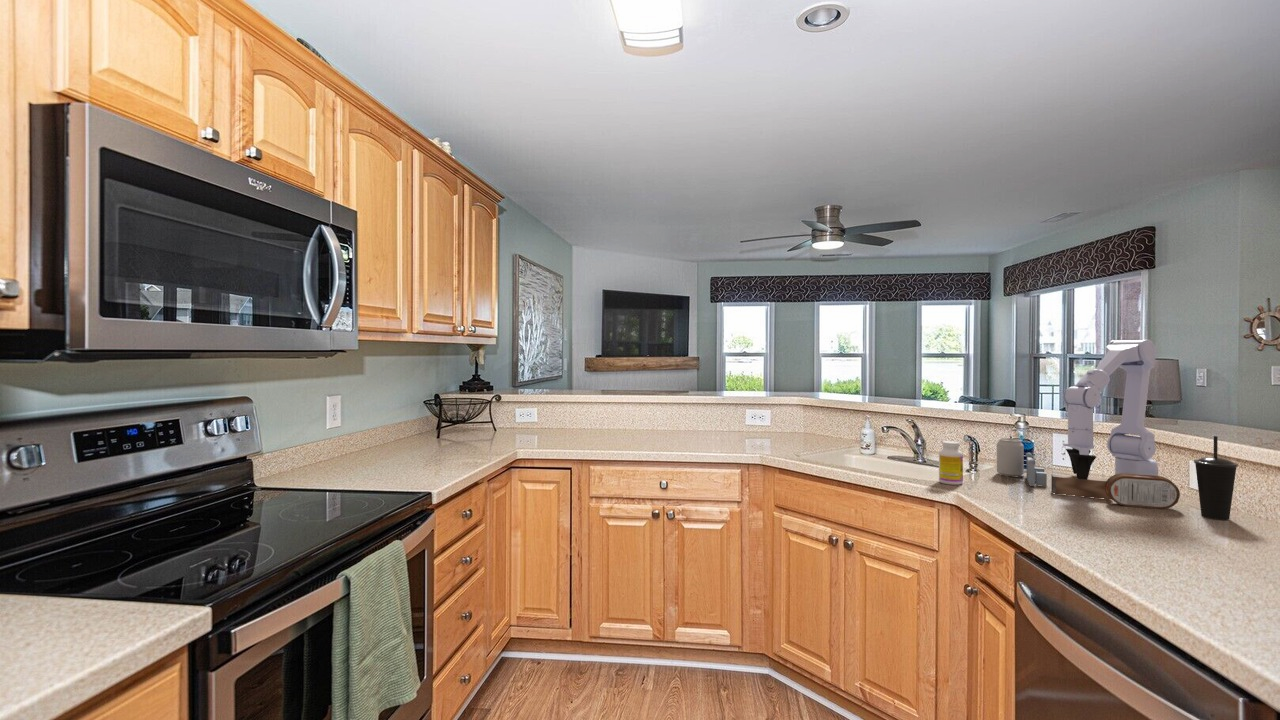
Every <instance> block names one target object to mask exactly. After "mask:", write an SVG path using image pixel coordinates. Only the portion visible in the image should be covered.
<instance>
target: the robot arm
mask: <svg viewBox="0 0 1280 720" xmlns="http://www.w3.org/2000/svg"><path fill="white" fill-rule="evenodd" d="M1156 356H1157V348H1156V346H1155V344H1154V343H1153V341H1152V340H1150V339H1143V340H1142V339H1141V340H1140V339H1138V340H1137V339H1136V340H1134V339H1132V340H1130V339H1127V340H1117V339H1116V340H1115V339H1112V340H1110V341H1109V343H1108V344H1107V346H1105V355H1104V356H1103V358H1102V360H1101V361H1100V362H1099V364H1098V365H1097V366H1096V368H1092V369H1088V370H1087V371H1086V373H1085V374H1084V375H1083V376H1082V377H1081V378H1080V380H1078V382H1077V383H1076V384H1075V385H1074V386H1070V387H1067V388H1066V389H1065V390H1064V392H1063V395H1062V400H1063V403H1064V406H1065V411H1066V412H1067V442H1062V446H1063V447H1068V448H1065V451H1066V452H1067V454H1068V457H1069V459H1070V463H1071V468H1072V472H1073V475H1075V476H1077V478H1078V479H1085V480H1087V479H1088V477H1090V476H1089V475H1090V471H1091V468H1092V465H1093V463H1094V461H1095V460H1096V458H1097V455H1094V454H1093V455H1092V454H1090V453H1091V451H1092V449H1094V448H1095V445H1094V408H1095V407H1096V406H1097V405H1099V401H1100V397H1101V394H1102V393H1101V392H1103V390H1104V389H1105V388H1106V387H1107V385H1108V384H1109V383H1110V381H1111V378H1110V376H1111V374H1113V373H1114V372H1115V371H1116V370H1117V369H1118V368H1119V369H1123V370H1124V371H1125V372H1126V379H1125V385H1124V386H1125V387H1124V394H1123V396H1124V397H1123V405H1122V411H1121V412H1122V413H1121V421H1120V424H1119V425H1117V426H1115V427H1113V428H1112V429H1111V431H1110V433H1109V434H1110V435H1109V437H1108V438H1107V441H1106V445H1107V446H1106V448H1107V450H1108V452H1109V453H1111V454H1112V457H1113V458H1114V461H1115V462H1114V475H1116V474H1120V473H1126V474H1138V475H1152V476H1159V466H1158V463H1157V462H1158V461H1156V460H1155V459H1152V458H1153V457H1154V455H1155V454H1156V447H1157V446H1156V442H1155V434H1154V433H1153V432H1152V431H1150V430H1149V429H1148V428H1146V427H1145V418H1146V409H1147V403H1148V402H1147V401H1148V394H1149V393H1148V391H1149V385H1150V384H1149V383H1150V375H1151V370H1152V369H1154V368H1155V364H1156ZM1133 435H1134V436H1133Z"/></svg>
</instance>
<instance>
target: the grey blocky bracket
mask: <svg viewBox="0 0 1280 720" xmlns="http://www.w3.org/2000/svg"><path fill="white" fill-rule="evenodd" d="M1025 457H1026V480H1027V483H1028V482H1029V483H1028V486H1029V485H1030V486H1034V487H1033V488H1035V487H1036V485H1042V486H1041V487H1044V486H1048V485H1047V484H1048V482H1047V479H1048V476H1047V474H1048V473H1047V472H1045V468H1044V467H1037V466H1036V465H1035V464H1036V463H1037V461H1036V460H1035V459H1033V458H1032V457H1033V454H1032V453H1031V452H1026V453H1025ZM1035 480H1036V481H1035ZM1035 484H1036V485H1035ZM1030 486H1029V487H1030Z"/></svg>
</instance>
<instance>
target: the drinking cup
mask: <svg viewBox="0 0 1280 720" xmlns="http://www.w3.org/2000/svg"><path fill="white" fill-rule="evenodd" d="M1218 437H1219V436H1218V435H1214V436H1213V456H1203V457H1200V458H1197V459H1194V460H1193V463H1194V465H1195V473H1196V480H1197V482H1196V483H1197V489H1198V496H1199V497H1198V499H1199V507H1200V516H1201V517H1204V518H1206V519H1211V520H1218V521H1229V520H1230V516H1231V509H1232V503H1233V494H1234V488H1235V481H1236V480H1235V479H1236V474H1237V473H1236V472H1237V467H1238V468H1239V463H1237V462H1233V461H1232V460H1230V459H1227V458H1223V457H1220V456H1218V454H1219V453H1218V451H1219V450H1218V447H1219V446H1218V444H1219V443H1218V440H1219V439H1218Z"/></svg>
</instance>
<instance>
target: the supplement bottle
mask: <svg viewBox="0 0 1280 720" xmlns="http://www.w3.org/2000/svg"><path fill="white" fill-rule="evenodd" d="M941 444H942V449H940V450H939V451H938V481H939V482H940V483H942V484H945V485H951V486H957V485H958V486H959V485H962V484H963V482H964V460H963V459H964V456H963V452H962V451H961V450H960V449H959V447H960V442H959V441H952V440H942V443H941Z"/></svg>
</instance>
